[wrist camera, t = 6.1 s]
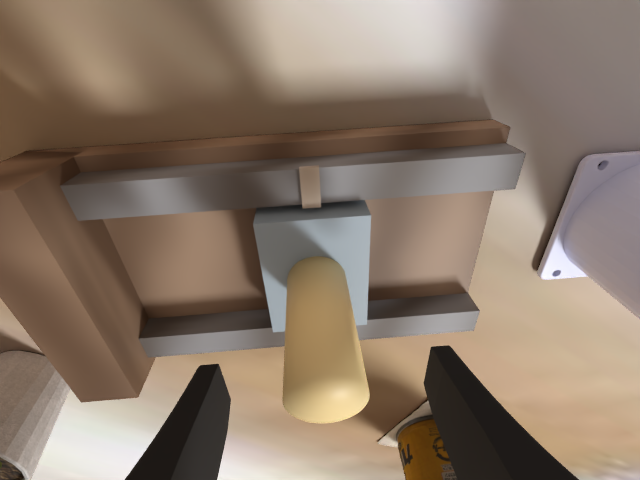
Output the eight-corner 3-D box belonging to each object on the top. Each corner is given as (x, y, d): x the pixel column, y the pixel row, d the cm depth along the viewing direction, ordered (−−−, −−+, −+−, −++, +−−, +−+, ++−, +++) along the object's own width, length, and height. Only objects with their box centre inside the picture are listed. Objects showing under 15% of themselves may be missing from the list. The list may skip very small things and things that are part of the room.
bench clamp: (492, 119, 16) (565, 151, 11) (451, 303, 22) (488, 367, 18) (26, 151, 15) (-78, 196, 11) (123, 330, 22) (81, 402, 17)
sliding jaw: (362, 195, 16) (414, 320, 9) (360, 298, 19) (395, 444, 12) (257, 203, 15) (227, 335, 9) (275, 305, 19) (263, 456, 12)
